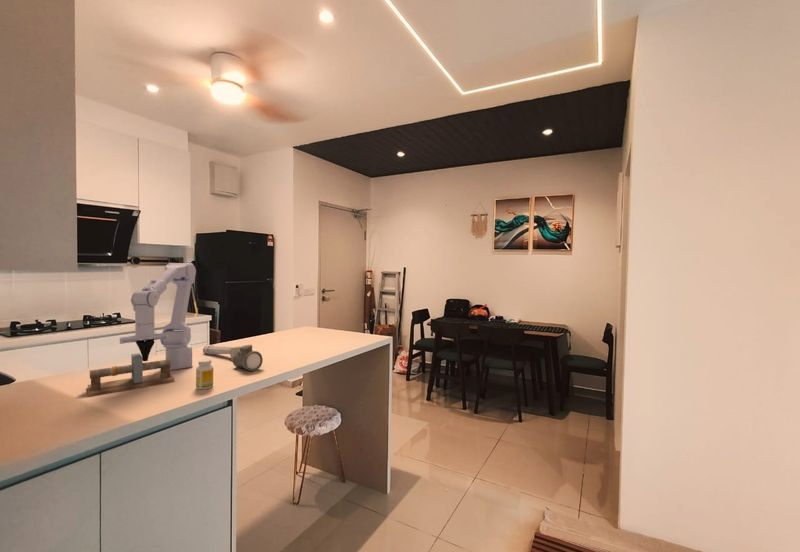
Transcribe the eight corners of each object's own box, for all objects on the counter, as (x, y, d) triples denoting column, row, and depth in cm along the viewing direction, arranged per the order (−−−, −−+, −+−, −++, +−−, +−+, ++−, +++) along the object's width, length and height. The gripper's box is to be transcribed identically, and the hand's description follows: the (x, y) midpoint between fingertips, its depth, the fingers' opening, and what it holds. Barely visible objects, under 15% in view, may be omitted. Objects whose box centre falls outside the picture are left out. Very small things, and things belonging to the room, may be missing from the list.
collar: (139, 376, 133) (139, 353, 133) (142, 381, 127) (142, 357, 127) (131, 377, 132) (131, 354, 131) (134, 383, 125) (134, 359, 125)
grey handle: (211, 344, 177) (245, 343, 165) (212, 358, 177) (246, 358, 165) (201, 346, 172) (235, 345, 160) (202, 360, 172) (236, 360, 160)
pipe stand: (168, 374, 140) (168, 355, 140) (174, 381, 132) (174, 361, 132) (87, 387, 124) (87, 366, 124) (88, 396, 116) (88, 374, 116)
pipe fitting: (264, 367, 150) (261, 343, 150) (247, 374, 143) (243, 348, 143) (248, 366, 157) (245, 343, 156) (231, 372, 150) (227, 348, 150)
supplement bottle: (192, 389, 124) (192, 362, 124) (201, 384, 130) (201, 358, 129) (208, 389, 124) (208, 362, 124) (216, 384, 130) (216, 358, 129)
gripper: (120, 327, 122) (121, 366, 123) (170, 323, 132) (170, 359, 133) (119, 324, 128) (119, 362, 128) (166, 320, 137) (167, 355, 138)
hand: (145, 360), depth 131 cm, fingers closed
